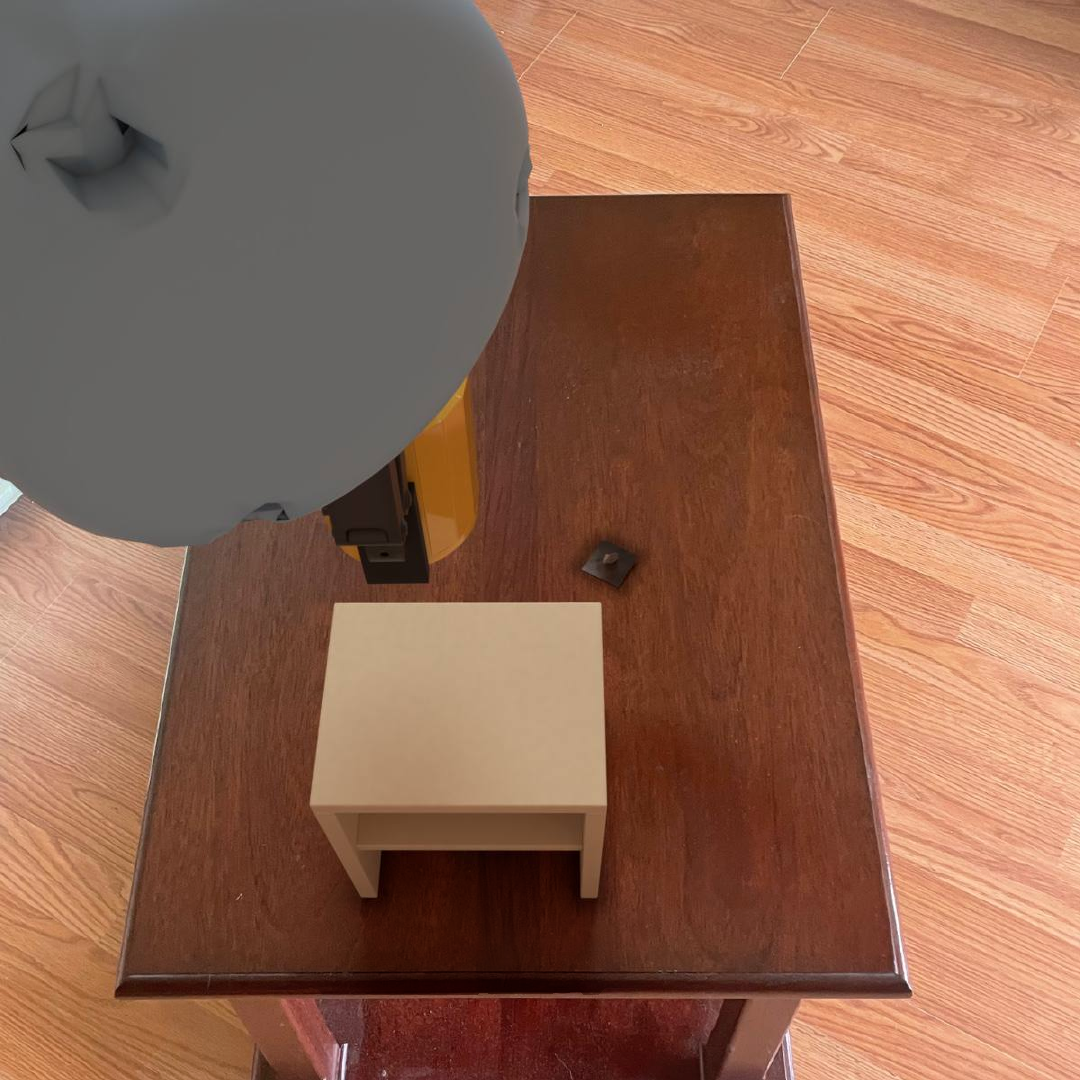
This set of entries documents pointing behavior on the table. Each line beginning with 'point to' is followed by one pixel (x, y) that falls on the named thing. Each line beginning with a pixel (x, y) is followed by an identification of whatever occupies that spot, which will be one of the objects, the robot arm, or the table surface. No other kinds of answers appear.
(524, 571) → the table surface
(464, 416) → the cup
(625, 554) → the dark square tile
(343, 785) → the shelf
